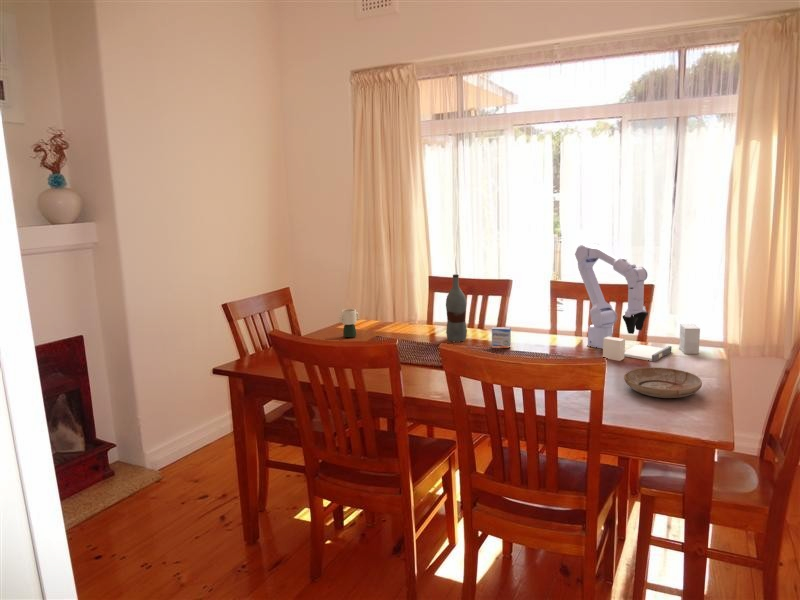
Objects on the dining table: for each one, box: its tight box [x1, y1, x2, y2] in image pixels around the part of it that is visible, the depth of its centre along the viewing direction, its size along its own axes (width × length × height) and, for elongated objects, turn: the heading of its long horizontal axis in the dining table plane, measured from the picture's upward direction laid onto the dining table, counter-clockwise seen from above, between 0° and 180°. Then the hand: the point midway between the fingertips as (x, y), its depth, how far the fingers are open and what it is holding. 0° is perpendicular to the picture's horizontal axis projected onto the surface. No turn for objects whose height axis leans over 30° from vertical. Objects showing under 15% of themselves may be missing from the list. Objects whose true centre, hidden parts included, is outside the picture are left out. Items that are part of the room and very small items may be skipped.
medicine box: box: [491, 326, 512, 346], centre depth 257 cm, size 8×4×9 cm, turn 76°
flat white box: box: [624, 344, 672, 362], centre depth 241 cm, size 14×17×2 cm
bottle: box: [445, 273, 468, 343], centre depth 270 cm, size 9×9×30 cm
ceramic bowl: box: [623, 367, 703, 399], centre depth 198 cm, size 23×24×5 cm
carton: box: [602, 336, 626, 362], centre depth 237 cm, size 4×7×8 cm, turn 45°
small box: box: [678, 323, 701, 355], centre depth 242 cm, size 8×6×10 cm
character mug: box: [338, 308, 360, 338], centre depth 284 cm, size 11×7×13 cm, turn 127°
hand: (634, 331), depth 239 cm, fingers open, 7 cm apart
